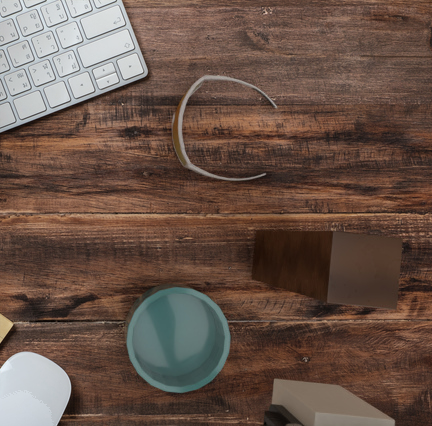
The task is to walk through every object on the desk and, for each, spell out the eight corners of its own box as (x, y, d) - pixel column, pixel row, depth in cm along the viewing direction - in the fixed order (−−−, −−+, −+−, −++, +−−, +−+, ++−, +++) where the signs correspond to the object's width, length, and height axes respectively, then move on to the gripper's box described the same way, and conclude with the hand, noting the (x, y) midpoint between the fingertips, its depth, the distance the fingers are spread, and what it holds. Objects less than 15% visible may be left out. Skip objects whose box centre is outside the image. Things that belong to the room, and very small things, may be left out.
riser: (299, 284, 68) (397, 310, 47) (251, 279, 68) (326, 302, 46) (303, 235, 69) (403, 238, 47) (256, 230, 68) (333, 230, 47)
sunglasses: (176, 73, 69) (187, 62, 64) (271, 96, 71) (290, 88, 66) (159, 170, 68) (169, 166, 63) (255, 190, 71) (273, 188, 66)
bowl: (215, 384, 68) (225, 397, 63) (119, 375, 67) (121, 387, 62) (224, 288, 68) (235, 293, 63) (129, 278, 68) (132, 282, 63)
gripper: (328, 778, 13) (196, 471, 31) (808, 813, 14) (414, 492, 31) (353, 506, 14) (208, 353, 31) (821, 550, 14) (424, 375, 31)
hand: (312, 423), depth 31 cm, fingers closed on block, 4 cm apart
